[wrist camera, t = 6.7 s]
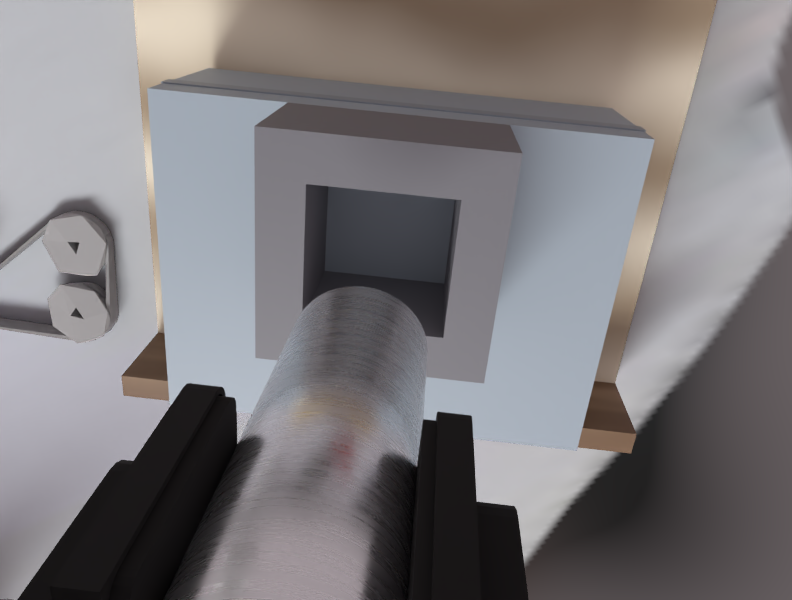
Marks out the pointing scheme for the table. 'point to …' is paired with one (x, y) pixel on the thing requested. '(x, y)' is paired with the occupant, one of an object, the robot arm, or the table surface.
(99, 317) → the pulley system
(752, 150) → the table surface
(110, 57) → the table surface
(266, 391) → the handle peg
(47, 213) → the table surface
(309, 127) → the square socket plate
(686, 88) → the bay
